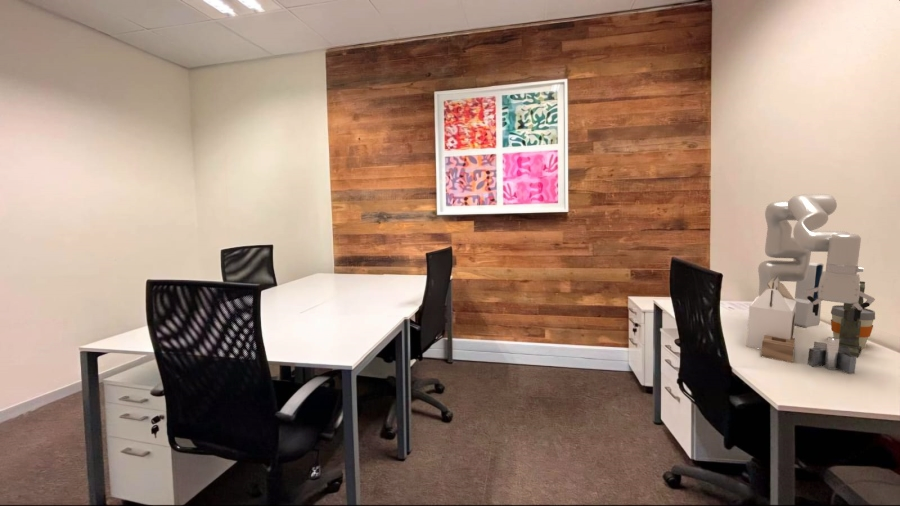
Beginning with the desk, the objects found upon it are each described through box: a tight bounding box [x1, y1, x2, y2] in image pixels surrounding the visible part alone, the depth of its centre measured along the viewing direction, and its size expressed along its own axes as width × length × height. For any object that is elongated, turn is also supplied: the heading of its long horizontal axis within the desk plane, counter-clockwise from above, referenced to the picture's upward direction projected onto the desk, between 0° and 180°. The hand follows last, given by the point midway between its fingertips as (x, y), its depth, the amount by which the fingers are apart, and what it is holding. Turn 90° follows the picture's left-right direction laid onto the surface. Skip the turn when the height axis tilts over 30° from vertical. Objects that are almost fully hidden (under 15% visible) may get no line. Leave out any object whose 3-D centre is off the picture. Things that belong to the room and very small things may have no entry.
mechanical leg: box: [839, 280, 866, 358], centre depth 148 cm, size 14×7×30 cm, turn 134°
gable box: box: [746, 276, 796, 350], centre depth 160 cm, size 22×13×28 cm, turn 135°
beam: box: [760, 335, 796, 363], centre depth 149 cm, size 12×9×6 cm
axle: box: [823, 336, 839, 371], centre depth 136 cm, size 3×3×11 cm
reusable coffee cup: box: [830, 304, 876, 349], centre depth 158 cm, size 12×13×15 cm
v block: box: [807, 341, 857, 374], centre depth 139 cm, size 12×12×6 cm
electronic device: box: [794, 261, 824, 328], centre depth 183 cm, size 12×8×30 cm, turn 114°
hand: (835, 317), depth 135 cm, fingers open, 9 cm apart
